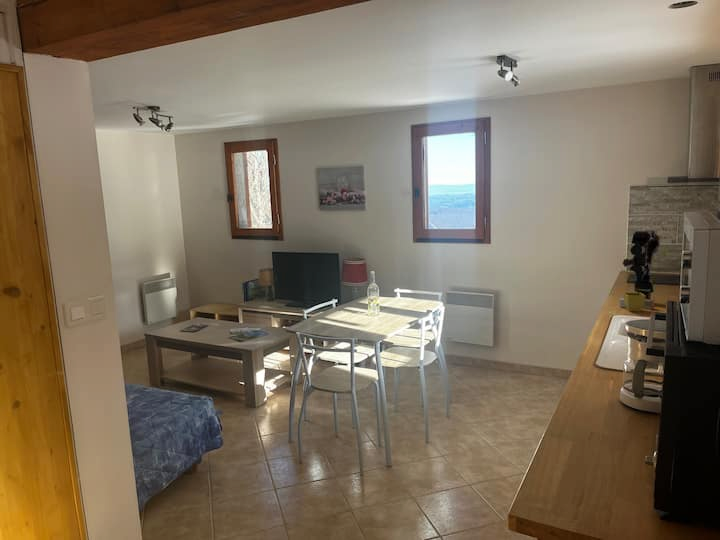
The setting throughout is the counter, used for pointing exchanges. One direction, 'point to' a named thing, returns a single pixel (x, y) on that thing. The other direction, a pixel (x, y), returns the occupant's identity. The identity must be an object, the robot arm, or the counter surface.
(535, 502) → the counter surface
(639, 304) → the flower pot
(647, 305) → the walnut block
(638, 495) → the counter surface
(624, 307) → the grey block
